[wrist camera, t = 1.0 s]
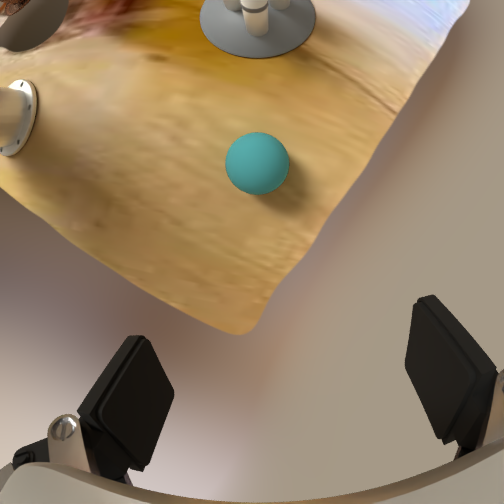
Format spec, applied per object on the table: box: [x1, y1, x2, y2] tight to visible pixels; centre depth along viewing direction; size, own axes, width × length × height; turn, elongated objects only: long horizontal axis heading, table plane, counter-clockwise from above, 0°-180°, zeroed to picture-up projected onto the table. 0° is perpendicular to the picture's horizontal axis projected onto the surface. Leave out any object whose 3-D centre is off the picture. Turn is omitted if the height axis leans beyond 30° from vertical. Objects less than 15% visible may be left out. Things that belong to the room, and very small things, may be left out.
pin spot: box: [200, 0, 315, 58], centre depth 22 cm, size 13×13×1 cm
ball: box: [226, 132, 289, 195], centre depth 25 cm, size 6×6×6 cm
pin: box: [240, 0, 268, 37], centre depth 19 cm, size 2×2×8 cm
